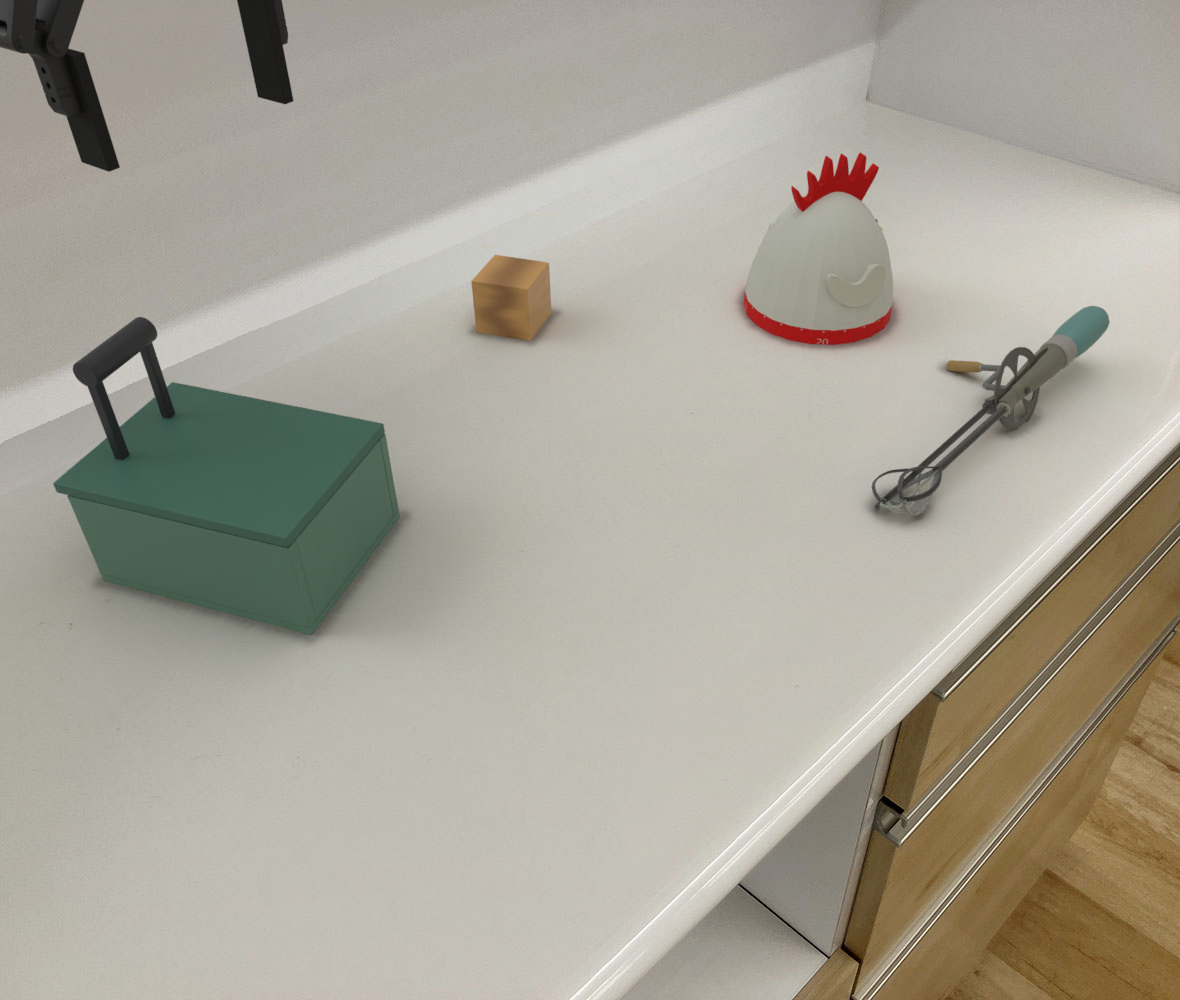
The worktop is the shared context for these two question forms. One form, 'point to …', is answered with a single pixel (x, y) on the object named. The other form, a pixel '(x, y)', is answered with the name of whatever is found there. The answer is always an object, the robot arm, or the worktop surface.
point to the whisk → (1002, 398)
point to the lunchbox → (250, 552)
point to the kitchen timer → (824, 263)
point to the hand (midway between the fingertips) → (194, 130)
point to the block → (512, 297)
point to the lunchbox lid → (212, 451)
